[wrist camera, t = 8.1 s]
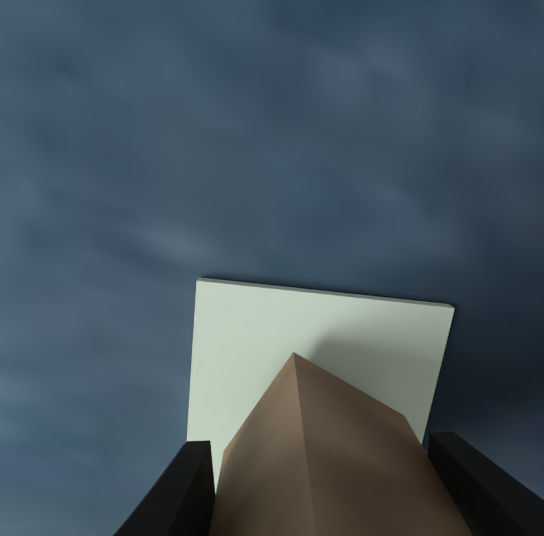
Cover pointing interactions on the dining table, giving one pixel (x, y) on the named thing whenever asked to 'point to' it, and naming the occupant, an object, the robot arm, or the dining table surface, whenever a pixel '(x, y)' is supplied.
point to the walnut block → (328, 466)
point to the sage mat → (307, 350)
